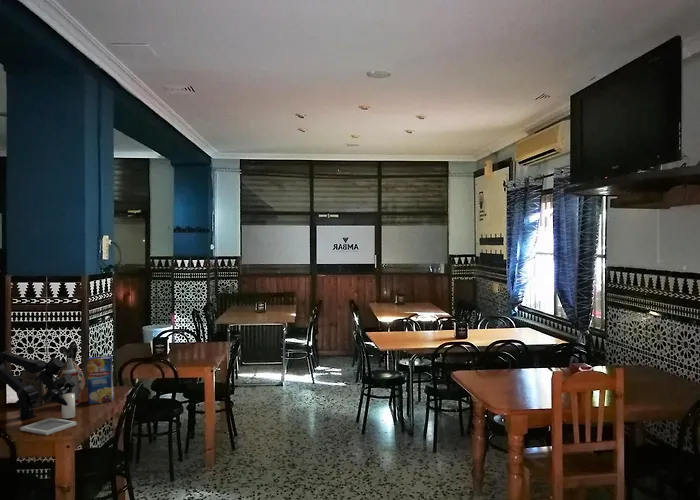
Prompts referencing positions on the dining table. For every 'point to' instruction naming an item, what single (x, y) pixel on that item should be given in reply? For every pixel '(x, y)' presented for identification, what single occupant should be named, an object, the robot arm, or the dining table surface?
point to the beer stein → (30, 380)
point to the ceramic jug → (72, 354)
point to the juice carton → (100, 379)
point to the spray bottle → (73, 379)
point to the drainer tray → (48, 426)
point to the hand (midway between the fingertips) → (70, 403)
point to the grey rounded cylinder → (70, 408)
